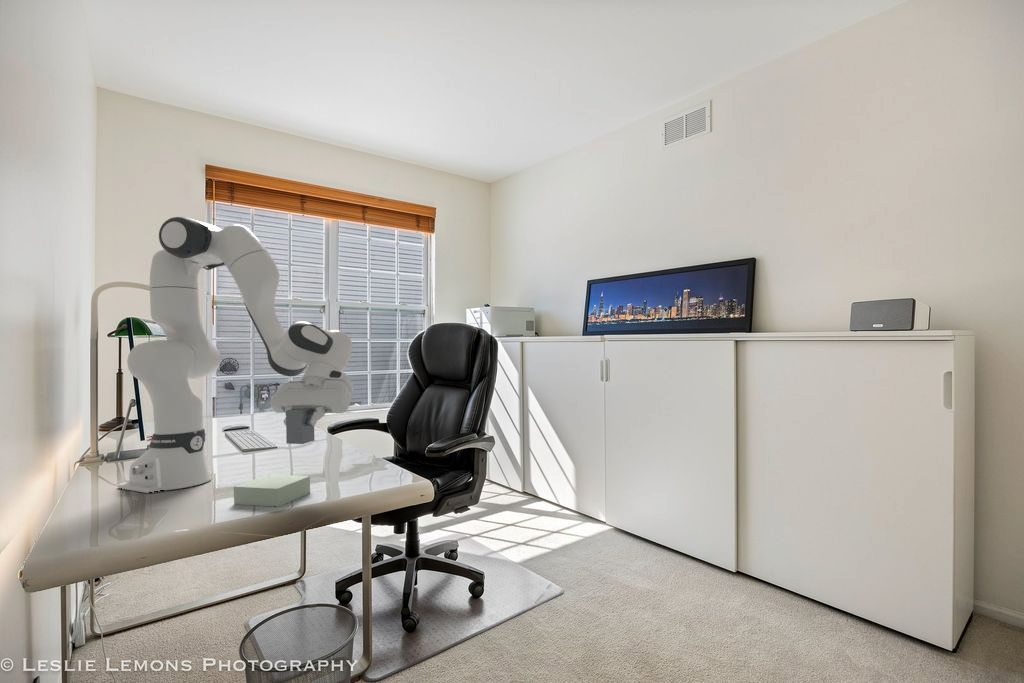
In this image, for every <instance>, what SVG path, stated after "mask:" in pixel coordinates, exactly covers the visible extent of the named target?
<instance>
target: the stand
mask: <svg viewBox="0 0 1024 683" xmlns="http://www.w3.org/2000/svg"><path fill="white" fill-rule="evenodd" d="M310 493H311V476H310V475H289V474H288V475H287V474H266V475H263V476H260V477H257V478H255V479H251V480H248V481H246V482H243V483H240V484H237V485H234V486H233V504H234V505H245V506H258V505H259V506H261V507H262V506H263V507H274V506H276V507H277V508H278V507H280V506H284V505H285V504H287V503H289V502H292V501H295V500H297V499H298V498H299V499H300V498H301V497H303V496H306V495H308V494H310ZM276 507H275V508H276Z"/></svg>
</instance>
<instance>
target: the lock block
mask: <svg viewBox="0 0 1024 683" xmlns="http://www.w3.org/2000/svg"><path fill="white" fill-rule="evenodd" d="M314 414H315V413H314V408H296V409H291V410H286V414H285V418H286V425H285V428H286V429H285V434H286V436H285V437H286V440H285V441H286V444H287V445H290V444H292V445H304V444H307V443H310V442H315V426H308V424H307V420H308V417H309V416H313V415H314Z"/></svg>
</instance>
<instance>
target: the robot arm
mask: <svg viewBox="0 0 1024 683" xmlns="http://www.w3.org/2000/svg"><path fill="white" fill-rule="evenodd" d="M158 241H159V244H160V245H161V247H162V249H161V250H158V251H157V252H155V253H154V254H153V256H152V260H151V266H150V270H149V271H150V272H149V302H150V303H149V304H150V305H149V306H150V317H151V319H152V321H154V323H155V324H157V325H158V326H159V327H160V328H161V329H162V331H163V333H164V335H165V339H155V340H150V341H146V342H143V343H138V344H137V345H135V346H133V347H132V348H131V350H130V351H129V354H128V356H127V364H126V365H127V368H128V370H129V372H130V374H131V375H132V376H133V378H136V379H137V380H138V381H139V382H141V383H142V385H143V386H144V388H145V389H146V391H147V393H148V395H149V397H150V400H151V403H152V409H153V424H154V425H153V426H154V428H153V429H154V433H153V434H152V435H150V436H149V435H148V436H146V438H149V439H146V442H149V441H150V443H149V446H148V447H149V448H148V449H147V450H145V452H144V453H142V454H141V455H140V456H139V457H137V459H135V460H134V461H133V462H132V463H131V465H130V466H129V474H128V475H129V478H128V479H127V480H126V481H123V482H120V483H118V485H117V489H121V488H122V490H128V491H131V492H132V491H133V492H138V493H139V492H140V493H145V494H150V493H149V492H152V493H155V492H154V491H158V492H161V491H160V490H164V491H170V490H171V491H172V490H179V489H183V488H190V487H193V486H194V487H195V486H198V485H202V484H205V483H208V482H209V481H210V480H212V475H213V474H212V471H211V470H210V467H209V460H208V453H207V448H206V446H205V442H206V431H205V429H204V417H203V416H204V414H203V413H204V412H203V411H204V410H203V402H202V399H201V398H199V396H197V395H195V394H194V393H193V391H192V389H191V387H190V386H191V385H190V383H189V380H197V379H201V378H204V377H207V376H210V375H212V374H213V373H215V372H216V371H217V370H218V369H219V367H220V365H221V360H222V359H221V354H220V351H219V349H218V348H217V347H216V346H215V345H214V344H213V343H212V341H211V340H210V339H209V337H208V335H207V333H206V330H205V328H204V325H203V323H202V319H201V314H200V313H201V311H200V301H199V299H200V298H199V280H198V277H199V273H200V271H201V270H202V269H205V270H207V271H210V270H213V269H216V268H218V267H223V266H225V267H226V269H227V271H228V272H229V273H230V274H231V276H232V278H233V280H234V281H235V283H236V285H237V288H238V290H239V292H240V294H241V297H242V299H243V302H244V306H245V309H246V311H247V314H248V315H249V317H250V319H251V321H252V324H253V325H254V327H255V329H256V331H257V333H258V335H259V337H260V339H261V340H262V342H263V344H264V347H265V349H266V353H267V354H266V355H267V361H268V363H269V365H270V367H271V368H272V369H273V371H275V372H276V373H278V374H280V375H283V376H284V377H296V376H299V375H301V374H302V373H303V372H304V371H305V373H303V376H302V377H301V380H298V381H293V380H290V381H287V382H286V383H284V384H282V385H281V386H280V387H279V388H278V389H277V390H276V392H275V393H274V394H273V396H272V397H271V399H270V401H269V406H270V407H271V409H272V411H274V412H275V413H277V414H284V413H285V415H286V410H291V409H296V408H314V415H313V416H309V417H308V420H307V424H308V426H314V427H315V426H316V425H317V422H318V421H319V420H321V419H322V418H323V417H324V416H325V415H326V414H343V413H346V411H347V410H349V407H350V404H351V402H352V398H353V394H352V393H353V392H354V390H355V387H354V384H353V383H352V380H351V379H350V378H349V376H348V374H347V373H346V372H343V371H345V369H346V368H347V366H348V363H349V361H350V359H351V356H352V352H353V342H352V339H351V338H350V337H349V335H347V334H346V333H345V332H343V331H341V330H337V329H333V330H329V329H328V330H327V329H324V328H320V327H319V326H317V325H316V324H314V323H311V322H310V321H303V320H302V321H300V320H299V321H296V322H294V323H292V324H291V325H290V326H289V328H288V329H287V330H286V331H285V329H284V328H283V325H282V324H281V321H280V320H279V318H278V315H277V314H276V310H275V300H276V294H277V290H278V287H279V284H280V283H279V282H280V272H279V268H278V265H277V264H276V261H275V260H274V259H273V257H272V255H271V254H270V252H269V251H268V250H267V248H266V247H265V246H264V244H263V243H262V242H261V241H260V240H259V238H258V236H256V235H255V233H253V232H252V230H250V229H249V228H248V227H246V226H244V225H241V224H231V225H228V226H224V227H223V228H220V227H217V225H213V224H210V223H208V222H203V221H201V220H196V219H193V218H191V217H185V216H174V217H170V218H168V219H167V220H165V221H164V222H163V223H162V224H161V226H160V229H159V231H158ZM283 424H284V425H285V426H286V417H284V420H283Z"/></svg>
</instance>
